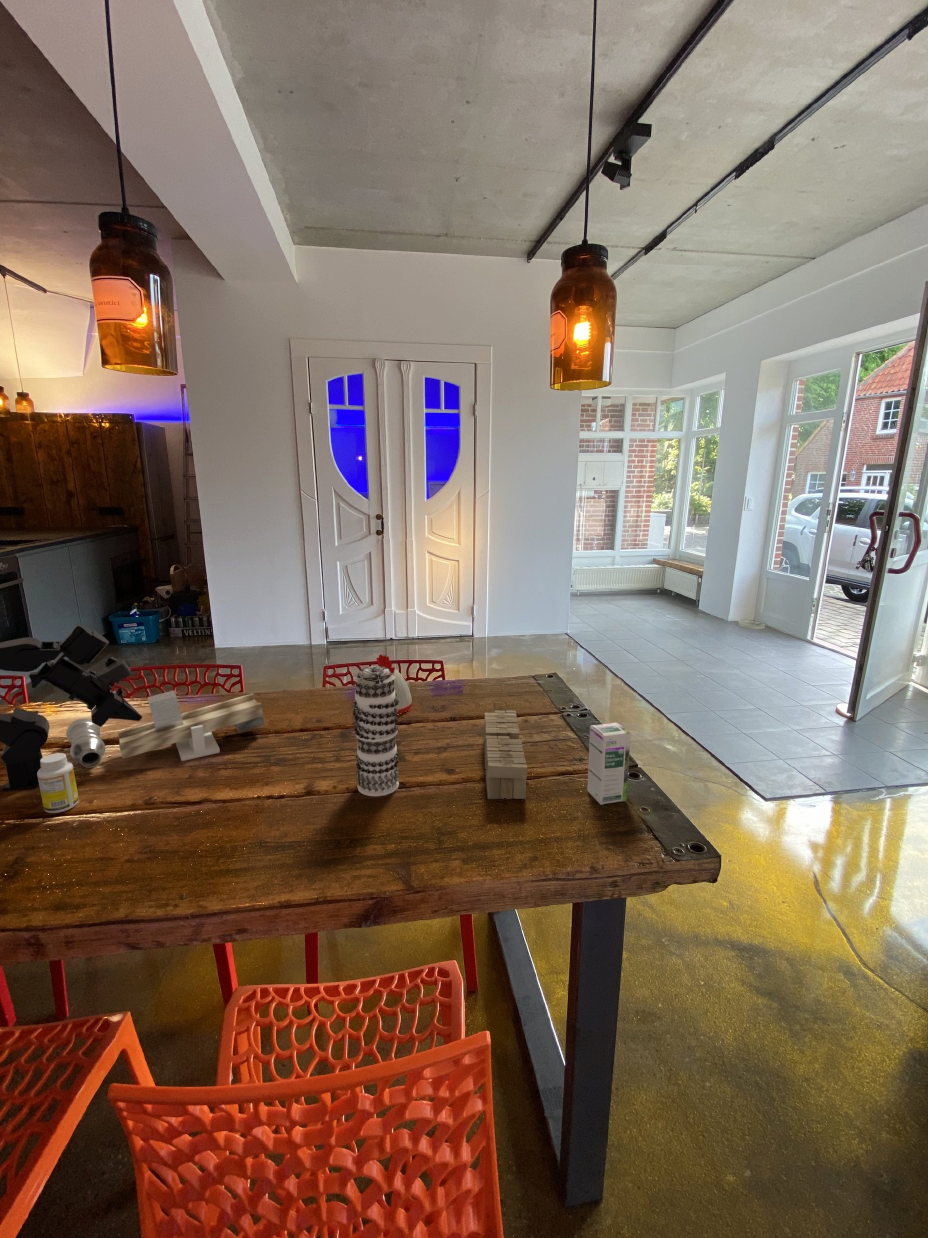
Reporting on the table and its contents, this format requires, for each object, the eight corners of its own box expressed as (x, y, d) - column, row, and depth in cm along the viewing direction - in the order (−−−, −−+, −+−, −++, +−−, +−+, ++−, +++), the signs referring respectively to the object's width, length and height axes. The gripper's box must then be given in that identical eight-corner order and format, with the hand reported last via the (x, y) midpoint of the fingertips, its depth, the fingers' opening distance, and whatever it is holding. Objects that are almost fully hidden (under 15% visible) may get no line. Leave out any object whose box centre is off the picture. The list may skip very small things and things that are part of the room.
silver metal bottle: (87, 746, 137) (97, 778, 122) (58, 734, 133) (64, 767, 118) (104, 722, 139) (116, 752, 123) (76, 711, 134) (85, 740, 119)
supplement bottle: (67, 796, 112) (59, 748, 110) (85, 802, 110) (77, 754, 107) (37, 810, 107) (27, 761, 105) (55, 817, 105) (46, 767, 102)
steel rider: (157, 736, 127) (148, 703, 125) (155, 729, 131) (147, 697, 129) (184, 728, 130) (176, 696, 128) (182, 721, 134) (174, 690, 131)
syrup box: (600, 805, 109) (605, 736, 106) (586, 790, 115) (590, 723, 112) (626, 801, 111) (632, 732, 108) (611, 786, 116) (615, 720, 113)
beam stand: (181, 761, 126) (178, 733, 125) (173, 738, 138) (170, 713, 136) (219, 752, 131) (217, 725, 129) (209, 731, 142) (206, 706, 141)
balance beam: (126, 771, 123) (119, 745, 122) (124, 756, 130) (117, 731, 128) (265, 726, 138) (260, 703, 137) (257, 715, 145) (252, 693, 143)
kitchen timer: (394, 695, 168) (393, 646, 164) (421, 708, 157) (420, 657, 154) (352, 706, 159) (350, 655, 156) (378, 721, 149) (376, 666, 145)
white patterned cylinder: (407, 777, 120) (405, 664, 114) (390, 800, 111) (386, 679, 105) (367, 772, 122) (363, 660, 116) (347, 793, 113) (342, 674, 108)
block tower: (483, 742, 139) (486, 803, 110) (484, 710, 137) (486, 763, 109) (516, 743, 139) (526, 804, 110) (516, 710, 137) (527, 763, 108)
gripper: (102, 661, 112) (171, 702, 121) (101, 640, 128) (162, 678, 136) (60, 706, 110) (133, 745, 118) (64, 680, 125) (128, 716, 134)
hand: (140, 718), depth 127 cm, fingers closed
